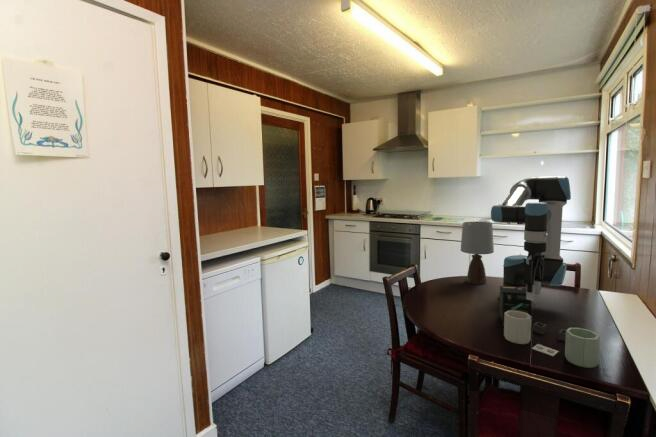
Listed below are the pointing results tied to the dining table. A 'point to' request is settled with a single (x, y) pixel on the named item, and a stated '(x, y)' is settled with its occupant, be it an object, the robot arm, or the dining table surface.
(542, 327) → the cradle grey
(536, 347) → the card
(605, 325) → the dining table surface
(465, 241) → the lamp
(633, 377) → the dining table surface
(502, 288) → the tampon box
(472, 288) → the dining table surface
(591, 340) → the beaker sage
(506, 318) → the beaker cream
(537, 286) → the grey ball
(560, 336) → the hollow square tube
